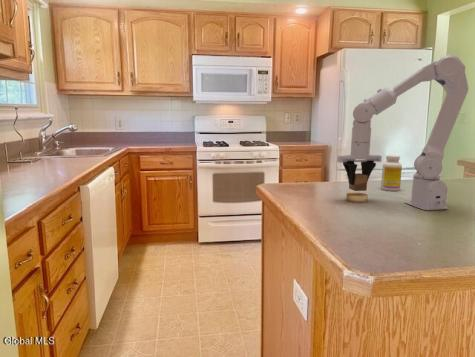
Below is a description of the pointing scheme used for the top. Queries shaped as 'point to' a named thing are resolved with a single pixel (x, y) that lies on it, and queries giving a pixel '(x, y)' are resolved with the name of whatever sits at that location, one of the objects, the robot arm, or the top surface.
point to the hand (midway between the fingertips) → (357, 183)
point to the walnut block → (359, 182)
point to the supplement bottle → (391, 173)
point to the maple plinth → (357, 197)
